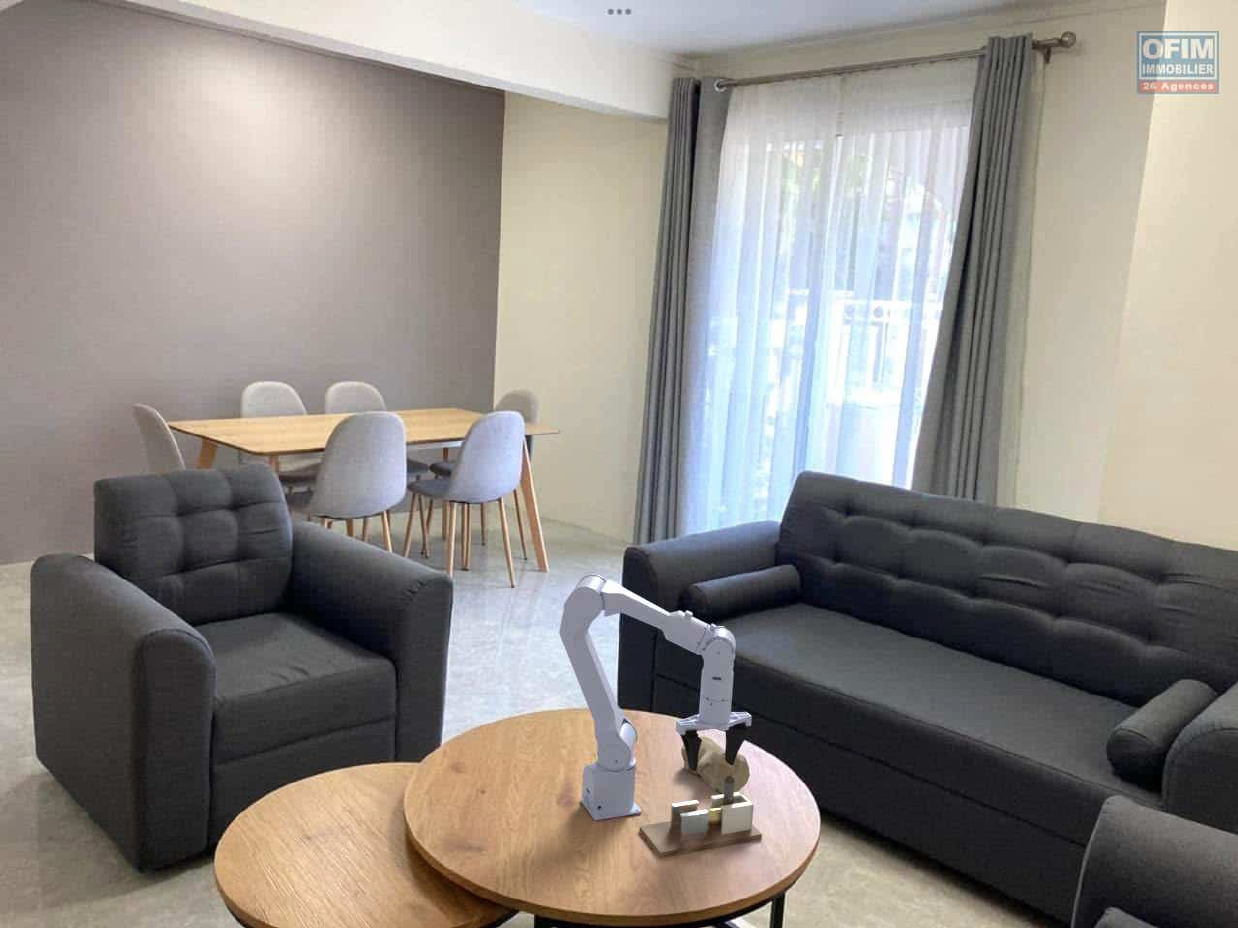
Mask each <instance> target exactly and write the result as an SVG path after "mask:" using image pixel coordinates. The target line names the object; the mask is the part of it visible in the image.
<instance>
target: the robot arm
mask: <svg viewBox="0 0 1238 928" xmlns="http://www.w3.org/2000/svg"><path fill="white" fill-rule="evenodd" d="M602 611H604V613H603V616H604V617H611V616H613V615H619V614H625V615H626V616H629V617H631V618H633V619H636V620H638V621H641V622H643V623H645V624H648V625H650V626H652V627H655V628H657V629H659V630H661V631H662V632H663V635H664V638H665V640H667V641H669V642H671V643H673V644H675V645H677V646H679V647H681V648H682V649H686V650H687V651H690V652H691V653H694V654H695V655H698V656H702V659H703V667H702V670H701V680H700V694H699V695H700V696H699V698H700V699H699V709H698V714H694V715H692V716H690V717H686V718H684V719H679V720H676V724H675V731H676V733H678V734H679V736H680V738H681V741H682V743H683V745H684V746H685V750H686V754H687V759H688V766H689V767H690V768H691V769H692V770H693V771H696V770H697V767H698V754H699V749H700V745H701V742H702V740H701V739H700V738H699V737H700V736H699V733H698V732H700V731H707V730H718V731H719V732H725V733H724V734H725V747H724V748H725V749H724V750H725V761H726V762H727V763H728V764H730V765H734V762H735V759H736V756H737V753H738V754H739V751H740V749H741V746H742V745H743V743H744V742H745V740H746V738H748V736H749V733H750V732H749V728H747V727H750V726H752V719H753V718H752V715H751V714H750V713H748V711H743V712H739V711H738V712H737V711H735V712H734V711H731V710H732V699H733V687H734V674H735V673H734V671H733V670H734V665H735V663H734V661H735V658H736V647H737V645H736V644H737V642H736V637H735V635H734V633H732V631H731V630H729V629H727V627H725V626H722V625H718V626H717V625H716V624H714V623H711V624H709V623H706V622H704V621H702V620H700V619H698V618H696V617H694V616H693V612H692V611H689V610H686V611H682V610H677V611H673V612H669V611H667V610H665V609H664V608H662V607H660V606H658V605H656V604H654V603H653V602H651V601H649V600H646V599H645V598H644V597H641V595H638V594H636V593H634V592H632V591H631V590H628V589H627V588H626V587H624V586H623V585H620V584H619V583H617V582H616V581H615V580H611V579H606V578H605V577H603V576H601V575H600V574H595V573H590V574H589V573H588V574H586V575H584V576H583V577H582V578H581V579H580V580H579V581H578V583H577V585H576V586H575V587H574V589H573V590H572V591H571V593H570V594H569V595H568V597H567V599H566V600H565V602H564V603H563V610H562V617H561V621H560V626H559V637H560V639H561V642H562V644H563V647H564V649H565V652H566V654H567V657H568V659H569V661H570V664H571V666H572V669H573V672H574V675H575V677H576V679H577V682H578V684H579V686H580V690H581V692H582V694H583V697H584V699H585V701H586V702H585V703H586V704H587V707H588V710H589V712H590V714H591V717H592V719H593V725H594V726H593V727H594V737H595V740H596V743H597V751H596V753H597V760H596V761H594V762H592V763H590V764H586V765H585V766H584V767H583V772H582V785H581V786H582V789H581V797H580V799H579V801H580V802H581V804H583V805H582V806H583V807H585V809H586V810H587V812H588V813H589V815H590V816H591V817H592V819H593V820H594V821H600V820H606V819H611V818H612V819H613V818H619V817H625V816H626V817H627V816H631V815H636V814H641V813H642V809H641V808H640V806H639V805H638V803H636V802H635V790H636V789H635V788H636V786H635V785H636V770H637V759H636V757H635V755H634V752H633V751H634V747H635V745H636V743H637V740H638V731H637V728H636V726H635V724H633V722H631V721H630V720H629V719H628V718H627V716H626V713H625V711H624V710H623V709H621V708H620V706H619V705H618V703H617V700H616V698H615V695H614V693H613V690H612V688H611V685H610V682H609V680H608V677H607V675H606V673H605V669H604V666H603V664H602V663H601V660H600V657H599V655H598V653H597V652H598V651H597V650H596V647H595V644H594V642H593V640H592V637H591V634H590V632H589V629H590V627H591V625H592V623H593V622H594V621H595V620H596V619H597V618H598V617H599V615H600V614H602Z"/></svg>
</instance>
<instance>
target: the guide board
mask: <svg viewBox="0 0 1238 928" xmlns="http://www.w3.org/2000/svg"><path fill="white" fill-rule="evenodd" d="M699 806H700V802H699V801H698V799H695V800H688V801H683V802H677V803H671V807H670V808H671V809H670V820H668V821H663V822H657V823H650V824H645V825H639V831H638V832H639V833H640V834H641V835H642V837H643V839H645V841H647V843H648V844H649V845H650V847H651V848H652V849H653V851H654V852H655V853H656V854H657V855H658V857H659V858H660V859H662V858H666V857H671V856H672V857H673V856H676V855H677V856H678V855H683V854H688V853H694V852H699V851H704V850H710V849H715V848H716V849H717V848H721V847H726V846H733V845H737V844H743V843H748V842H754V841H759V840H763V833H762V832H761V831H760V830H758V829H759V828H756V826H754V824H753V823H752V829H750V830H745V831H739V832H734V833H728V834H721V825H722V823H720V824H714V825H708V811H707V810H703V809H700V810H701V811H697V810H698V807H699ZM691 811H695V812H691ZM686 812H689V813H686Z"/></svg>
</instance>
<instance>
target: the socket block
mask: <svg viewBox="0 0 1238 928" xmlns="http://www.w3.org/2000/svg"><path fill="white" fill-rule="evenodd" d="M723 798H724V794H721V795H720V794H716V795H711V796H710V806H709V808H715V807H721V810H722V811H723V812H722V825H721V834H728V833H734V832H739V831H745V830H750V829H752V824H753V819H754V817H753V816H754V803H753V802H752V801H751V800H749V798H747V797H746V796H745V795H744V794H743V793H742V792H741V791H738V792H734V799H733V804H731V805H725V806H723Z"/></svg>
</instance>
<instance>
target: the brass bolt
mask: <svg viewBox="0 0 1238 928" xmlns="http://www.w3.org/2000/svg"><path fill="white" fill-rule="evenodd" d="M734 786H735V780H734V778H733V777H732V776H727V777H726V778H725V784H724V798H723V806H725V805H731V804H733V799H734ZM701 810H707V811H708V825H714V824H720V823H722V812H723V811H722V810H721V807H715V808H710V807H709V808H704V809H703V808H702V809H697V811H701ZM691 812H695V811H691ZM686 813H689V812H686Z"/></svg>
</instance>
